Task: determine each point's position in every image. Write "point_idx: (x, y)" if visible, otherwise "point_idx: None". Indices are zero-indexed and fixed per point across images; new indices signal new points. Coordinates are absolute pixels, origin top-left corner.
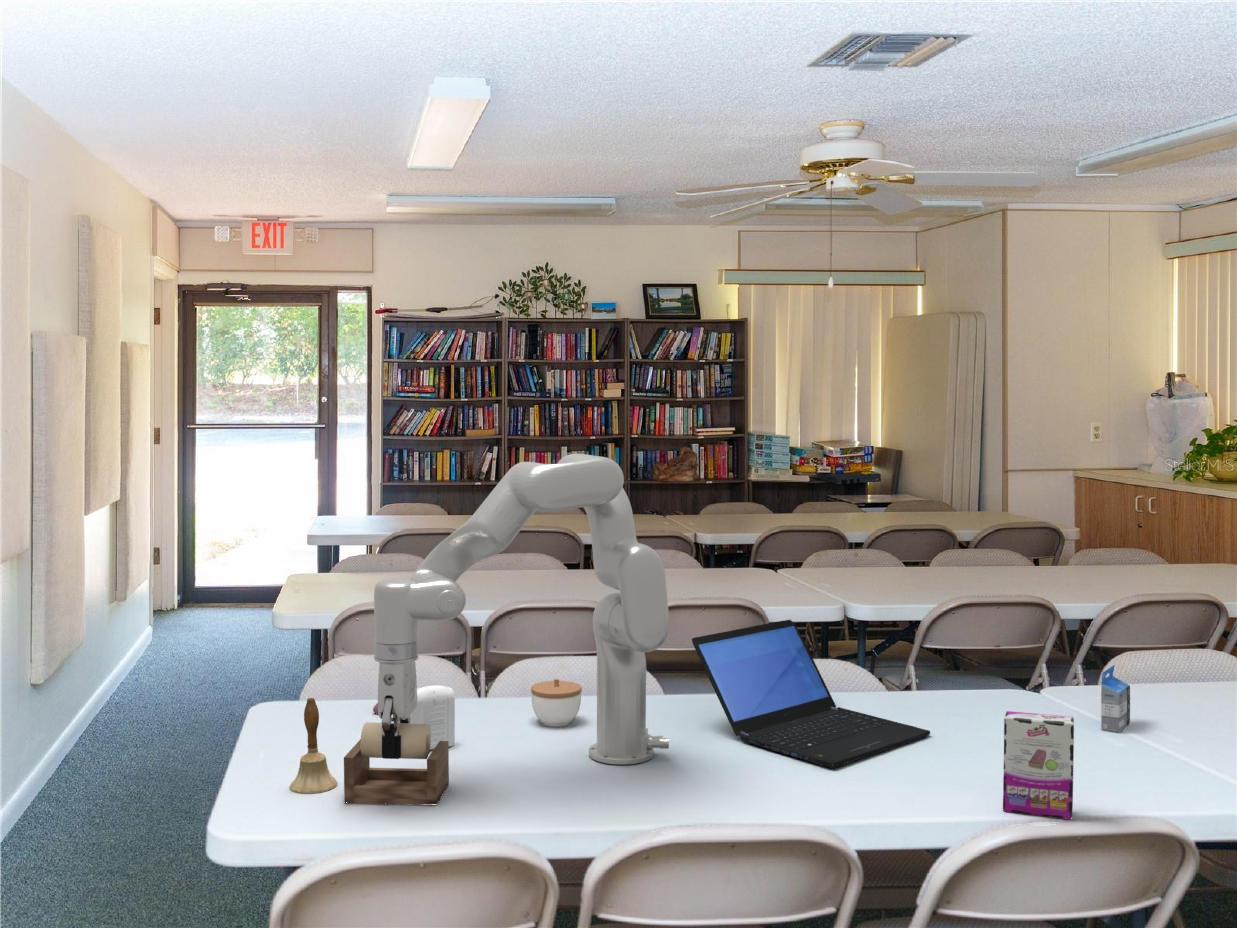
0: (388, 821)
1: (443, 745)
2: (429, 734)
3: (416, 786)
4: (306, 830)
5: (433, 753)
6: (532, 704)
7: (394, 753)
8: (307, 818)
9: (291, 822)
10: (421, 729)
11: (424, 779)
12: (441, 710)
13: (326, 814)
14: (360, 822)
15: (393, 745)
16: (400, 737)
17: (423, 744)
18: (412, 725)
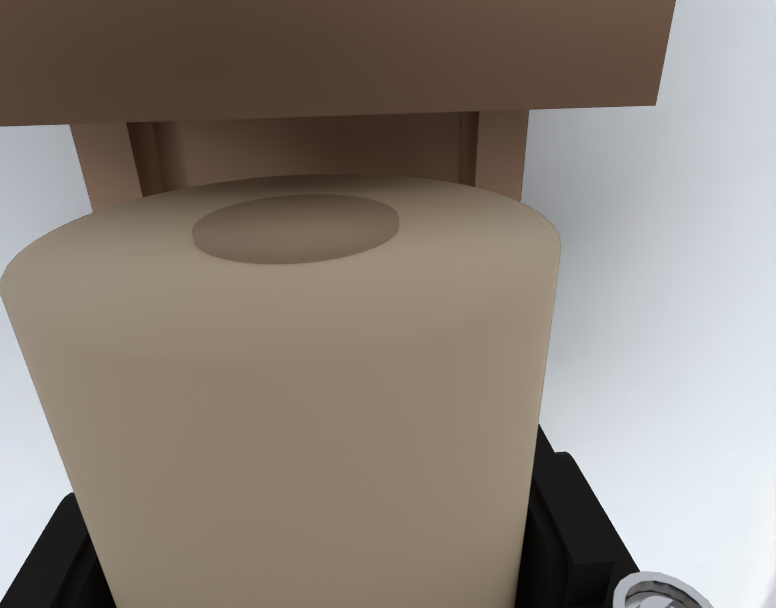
0: (715, 225)
1: (65, 16)
2: (115, 255)
3: (475, 176)
4: (746, 487)
5: (434, 78)
6: None
7: (555, 452)
8: (628, 523)
9: (659, 550)
10: (474, 385)
11: (163, 191)
12: None
13: (594, 483)
14: (703, 341)
15: (602, 520)
16: (593, 542)
17: (540, 224)
18: (363, 581)
